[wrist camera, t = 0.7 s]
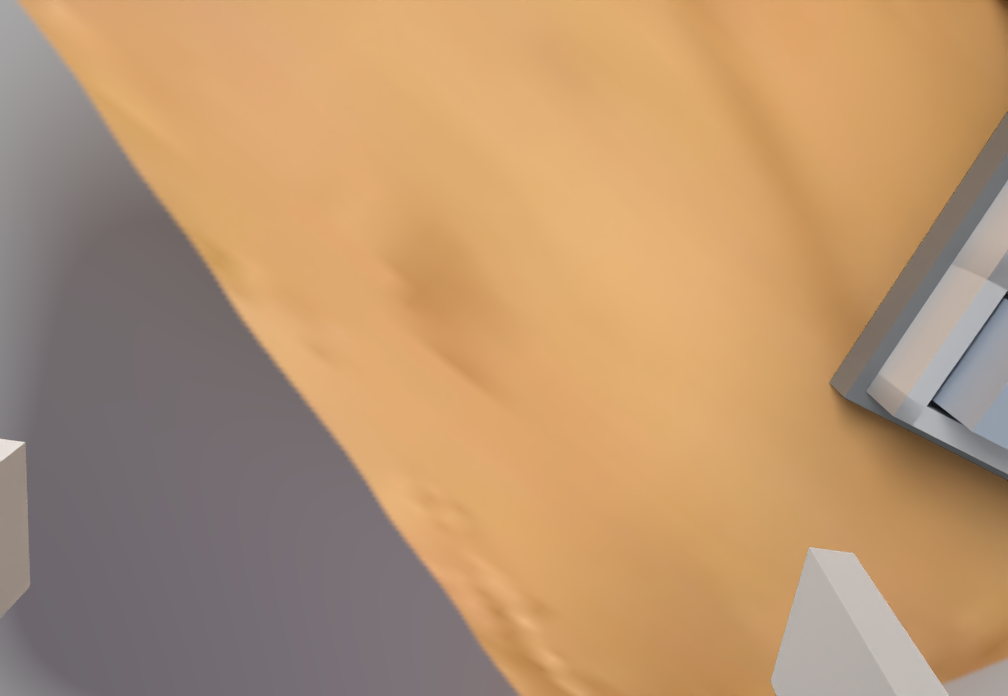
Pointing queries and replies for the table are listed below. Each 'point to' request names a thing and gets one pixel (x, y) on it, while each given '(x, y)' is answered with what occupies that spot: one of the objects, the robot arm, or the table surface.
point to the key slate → (981, 381)
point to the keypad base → (939, 313)
